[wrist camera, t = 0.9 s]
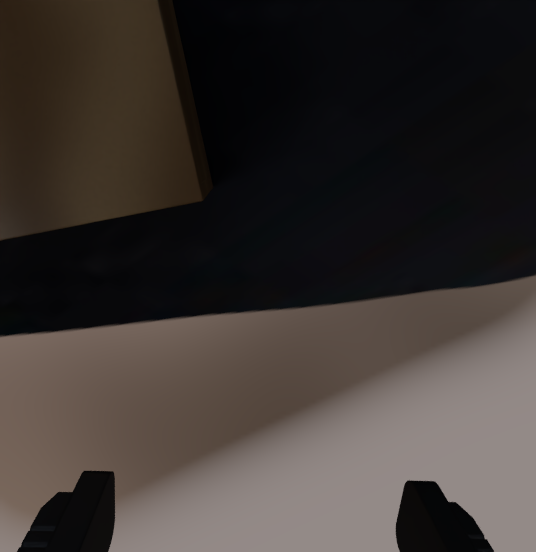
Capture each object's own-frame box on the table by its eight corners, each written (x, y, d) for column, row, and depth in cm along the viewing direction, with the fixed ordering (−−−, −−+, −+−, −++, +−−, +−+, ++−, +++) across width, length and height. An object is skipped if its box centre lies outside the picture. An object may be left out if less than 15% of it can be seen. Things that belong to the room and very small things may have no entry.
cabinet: (-1, 229, 33) (-95, 259, 24) (-73, 32, 29) (-221, -25, 20) (213, 187, 33) (203, 200, 24) (169, -14, 29) (136, -92, 20)
